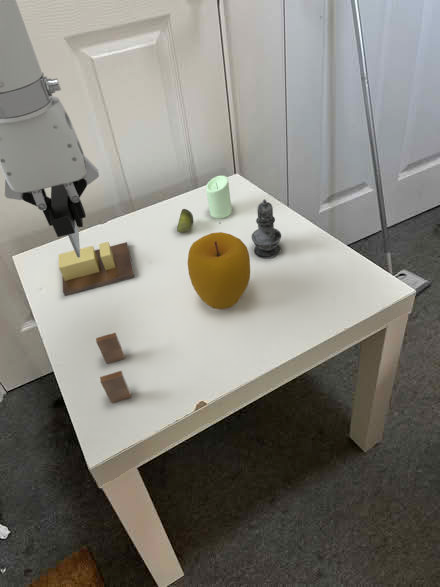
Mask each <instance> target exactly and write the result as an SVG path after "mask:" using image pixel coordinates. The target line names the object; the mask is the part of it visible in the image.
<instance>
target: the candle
mask: <svg viewBox="0 0 440 587" xmlns="http://www.w3.org/2000/svg"><path fill="white" fill-rule="evenodd" d="M205 191H206V197H207V202H208V210H209V215H210V216H211V217H212V218H214V219H225V218H227V217H229V216H230V215H231V214H232V210H233V209H232V200H231V193H230V183H229V178H228V177H227V176H226V175H217V176H214V177H213V178H211V179H210V180H209V181H208V182H207V183H206V186H205Z"/></svg>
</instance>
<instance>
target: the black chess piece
mask: <svg viewBox="0 0 440 587" xmlns="http://www.w3.org/2000/svg"><path fill="white" fill-rule="evenodd" d="M256 210H257V218H256V219H255V223H256V224H257V229H256V230H255V231H253V233H252V234H251V241H252V242H253V244H254V249H253V253H254V255H255V256H256V257H258V258H260V259H265V260H266V259H267V260H268V259H272V258H275V257H277V256H278V255H279V254H280V252H281V247H280V245H279V243H280V241H281V239H282V233H281V231H280V230H278V229H277V228H275V225H274V224H275V222H276V218H275V216H274V212H273V211H274V209H273V205H272V203H271V202H268V201H267V200H266V199H265V198H264V199H263V200H262V202H260V203H259V204H258V205H257V208H256Z"/></svg>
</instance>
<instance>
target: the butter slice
mask: <svg viewBox="0 0 440 587" xmlns="http://www.w3.org/2000/svg"><path fill="white" fill-rule="evenodd" d="M110 246H111V245H110V242H109V241H105V242H101V243H98V249H100V256H101V259H102V262H103V265H104V267H105V270H109V269H113V268H115V263H114V257H113V253H112V250H111V247H110Z"/></svg>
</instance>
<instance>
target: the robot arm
mask: <svg viewBox="0 0 440 587" xmlns="http://www.w3.org/2000/svg"><path fill="white" fill-rule="evenodd" d="M61 90H62V87H61V84H60V81H59V79H58V78H57V77H56V78H50V77H49V78H48V77H47V76H45V73H44V72H43V71H42V69H41V66H40V63H39V59H38V58H37V55H36V52H35V49H34V46H33V44H32V41H31V38H30V36H29V32H28V30H27V27H26V24H25V22H24V19H23V16H22V13H21V10H20V8H19V5H18V2H17V0H0V169H1V172H2V174H3V176H4V179H5V181H4V196H5V198H6V199H11V200H18V201H21V200H22V201H24V202H26V203H28V204H31V205H33V206H34V207H37V210H40V211H42V212H43V215H44V217H45V219H46V221H47V224H48V226H49V227H53V226H52V223H51V221H50V215H51V197H49V196H48V195H47V192H46V189H48V188H51V187H53V186H57V185H62V184H64V186H65V188H66V191H67V193H68V195H69V206H70V209H71V211H72V214H73V216H74V219H75V224H76V227H77V228H83V227H84V222H83V221H84V220H83V219H85V218H86V217H87V216H86V211H85V208H84V205H83V203H82V200H81V197H82V195H83V193H84V192H85V190H86V188H87V186H89V185H91V183H93V182H94V181H96V179H98V178H99V176H100V174H99V169H98V168H97V167H96V166H95V165H94V163H92V162H91V161H90V159H89V158H87V157H86V155H85V153H84V150H83V148H82V145H81V143H80V140H79V137H78V135H77V133H76V129H75V128H74V126H73V123H72V121H71V119H70V117H69V114H68V113H67V111H66V109H65V107H64V105H63V103H62V102H61V100H60V98H59V97H57V96H54V95H53V94H55V93H56V92H60V91H61Z"/></svg>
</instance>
